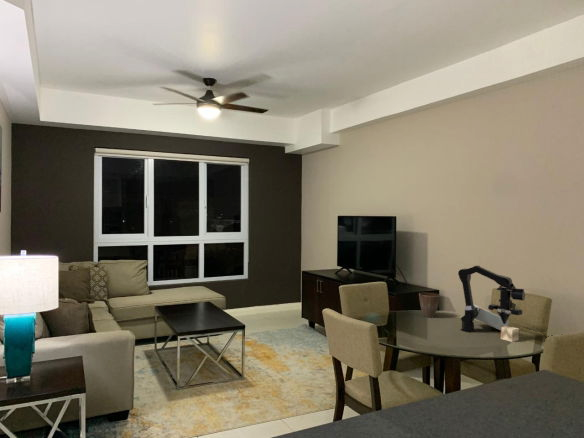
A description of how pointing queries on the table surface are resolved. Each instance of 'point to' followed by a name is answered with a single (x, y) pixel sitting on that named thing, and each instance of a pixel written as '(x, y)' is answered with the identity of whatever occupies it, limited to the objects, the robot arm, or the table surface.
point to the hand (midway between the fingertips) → (504, 323)
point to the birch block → (509, 333)
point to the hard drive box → (490, 318)
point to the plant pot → (429, 303)
